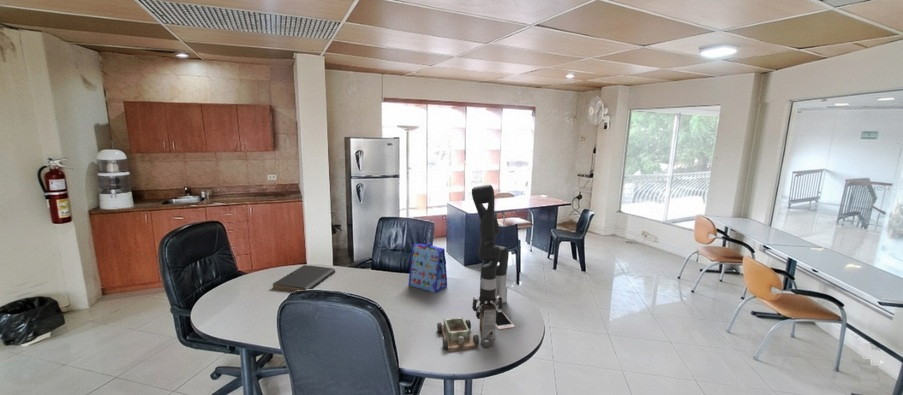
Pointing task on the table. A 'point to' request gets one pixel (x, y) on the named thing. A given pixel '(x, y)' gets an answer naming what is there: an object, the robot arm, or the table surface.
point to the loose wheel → (486, 342)
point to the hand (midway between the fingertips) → (486, 317)
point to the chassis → (457, 334)
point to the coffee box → (488, 321)
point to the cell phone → (503, 321)
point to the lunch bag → (428, 268)
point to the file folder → (303, 278)
